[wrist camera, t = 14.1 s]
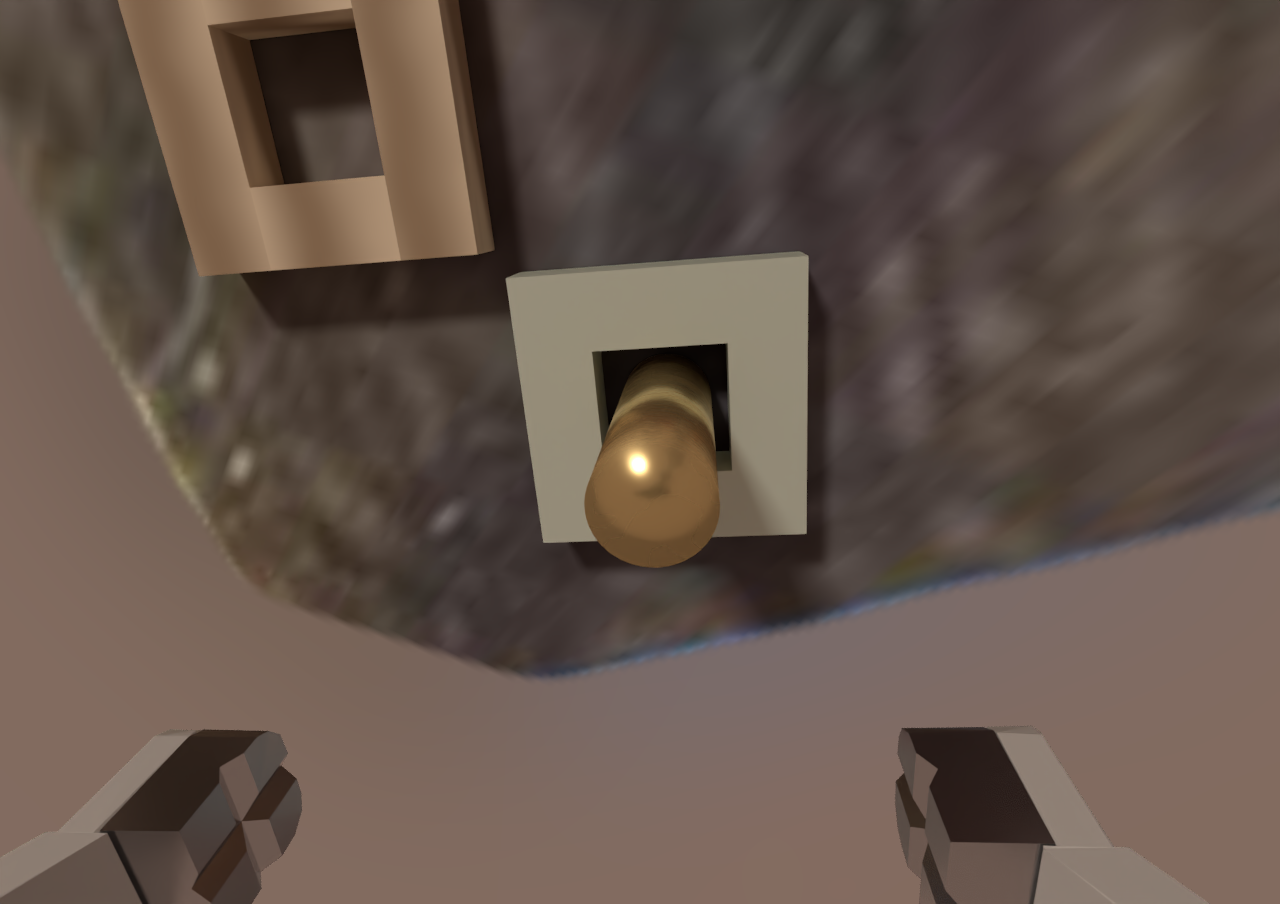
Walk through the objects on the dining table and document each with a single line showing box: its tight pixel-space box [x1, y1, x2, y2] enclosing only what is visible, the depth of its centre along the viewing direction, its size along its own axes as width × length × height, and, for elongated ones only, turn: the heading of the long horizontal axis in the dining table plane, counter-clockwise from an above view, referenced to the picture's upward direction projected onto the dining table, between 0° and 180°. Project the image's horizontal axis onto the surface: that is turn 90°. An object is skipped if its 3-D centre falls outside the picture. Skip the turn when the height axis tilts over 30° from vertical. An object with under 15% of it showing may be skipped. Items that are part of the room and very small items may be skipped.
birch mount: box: [118, 0, 495, 276], centre depth 27 cm, size 12×12×2 cm
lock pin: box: [584, 354, 720, 567], centre depth 25 cm, size 4×4×12 cm
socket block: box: [506, 251, 808, 543], centre depth 30 cm, size 12×12×2 cm
